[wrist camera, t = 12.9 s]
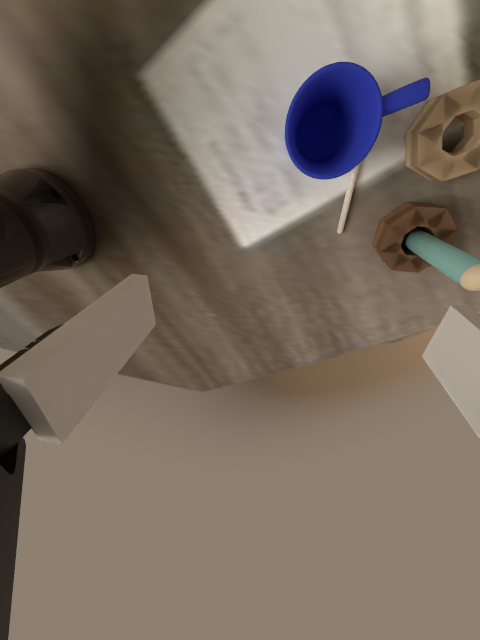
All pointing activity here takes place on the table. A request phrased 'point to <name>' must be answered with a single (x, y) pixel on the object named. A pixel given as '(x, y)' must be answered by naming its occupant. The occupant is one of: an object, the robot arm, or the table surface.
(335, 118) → the mug
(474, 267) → the teal rod
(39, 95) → the table surface
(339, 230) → the thin beige rod
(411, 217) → the walnut bead
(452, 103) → the maple bead
